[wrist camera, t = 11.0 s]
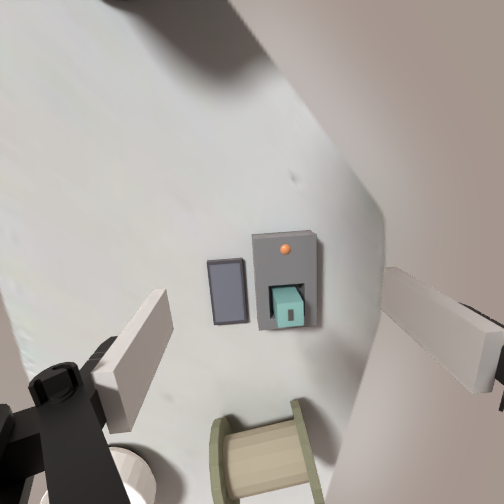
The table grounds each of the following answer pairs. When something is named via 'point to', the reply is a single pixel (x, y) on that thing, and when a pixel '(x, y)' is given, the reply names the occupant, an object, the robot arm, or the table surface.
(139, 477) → the bowl
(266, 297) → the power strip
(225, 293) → the phone
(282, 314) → the block
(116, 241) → the table surface
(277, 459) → the spool
